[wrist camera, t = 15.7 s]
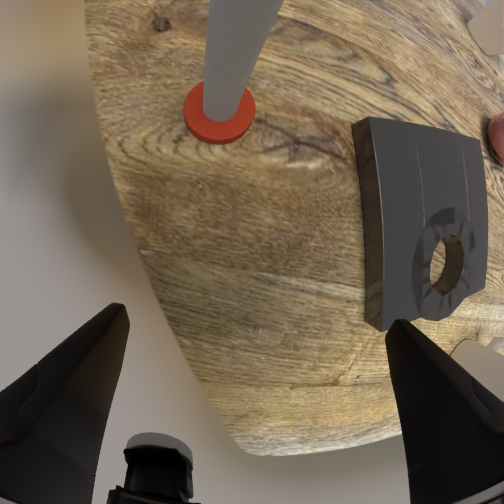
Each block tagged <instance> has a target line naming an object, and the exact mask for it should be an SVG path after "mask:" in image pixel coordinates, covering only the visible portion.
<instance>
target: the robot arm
mask: <svg viewBox="0 0 504 504" xmlns="http://www.w3.org/2000/svg"><path fill="white" fill-rule="evenodd" d="M129 328H130V322H129V318H128V315H127V311H126V307H125V306H124V305H123V304H119V303H111V304H110V305H108V306H107V307H106V308H104V309H103V310H102V311H101V312H99V313H98V314H97V315H96V316H94V317H93V318H92V319H90V320H89V321H88V322H87V323H85V324H84V325H83V326H81V327H80V328H79V329H78V330H76V331H75V332H74V333H73V334H71V335H70V336H69V337H68V338H66V339H65V340H64V341H63V342H62V343H60V344H59V345H58V346H57V347H56V348H54V349H53V350H52V351H51V352H49V353H48V354H47V355H46V356H45V357H43V358H42V359H41V360H40V361H39V362H38V364H35V365H34V366H33V367H32V368H30V369H29V370H28V371H27V372H26V373H25V374H23V375H22V376H21V377H20V378H18V379H17V380H16V381H14V382H13V383H12V384H11V385H9V386H8V387H6V388H5V389H4V390H2V391H1V392H0V504H91V503H92V495H93V489H94V482H95V476H96V474H95V473H96V470H97V465H98V459H99V454H100V450H101V445H102V440H103V436H104V432H105V427H106V423H107V419H108V415H109V411H110V408H111V404H112V400H113V396H114V393H115V389H116V386H117V382H118V379H119V376H120V372H121V368H122V363H123V358H124V353H125V348H126V343H127V338H128V333H129ZM385 344H386V350H387V356H388V362H389V369H390V376H391V381H392V385H393V390H394V394H395V399H396V403H397V408H398V413H399V418H400V423H401V429H402V435H403V441H404V446H405V454H406V461H407V469H408V479H409V490H410V504H504V402H503V401H502V400H500V399H499V398H498V397H497V396H495V395H494V394H493V393H492V392H490V391H489V390H488V389H487V388H485V387H484V386H483V385H482V384H481V383H480V382H479V381H477V380H476V379H475V378H474V377H473V376H471V374H470V373H469V372H467V371H466V370H465V369H464V368H463V367H462V366H461V365H460V364H458V363H457V362H456V361H455V360H454V359H453V358H452V357H450V356H449V355H448V354H447V353H446V352H445V351H443V350H442V349H441V348H440V347H439V346H438V345H436V344H435V343H434V342H433V341H432V340H430V339H429V338H428V337H427V336H426V335H424V334H423V333H422V332H421V331H420V330H418V329H417V328H416V327H415V326H414V325H412V324H411V323H410V322H409V321H407V320H406V319H396V320H395V321H394V322H393V323H392V325H391V327H390V329H389V330H388V332H387V334H386V336H385ZM123 453H124V455H125V456H126V458H127V459H128V467H127V472H126V478H125V484H124V488H122V487H121V486H118V485H116V489H115V490H110V491H109V495H108V500H107V503H106V504H201V503H189V498H193V481H192V472H191V470H190V468H189V466H188V464H187V462H186V461H184V460H183V458H182V456H181V454H180V452H179V450H178V449H176V448H164V449H129V448H126V449H124V451H123Z"/></svg>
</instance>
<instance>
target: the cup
mask: <svg viewBox="0 0 504 504" xmlns="http://www.w3.org/2000/svg"><path fill="white" fill-rule="evenodd" d="M467 27H468V30H469V32H470V33H471V35H472V37H473V38H474V40H475V41H476V43H477V44H478V46H479V47H480V48H481V49H482V50H483V52H485V53H486V54H487V55H501V54H504V0H491V1H489V2H488V3H487V4H486V5H485V6H484V7H483V8H482V9H481V10H480V11H479V12H478V13H477V14H476V15H475V16H474V17H473V18H471V19H470V20H469V21H468V22H467Z"/></svg>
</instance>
